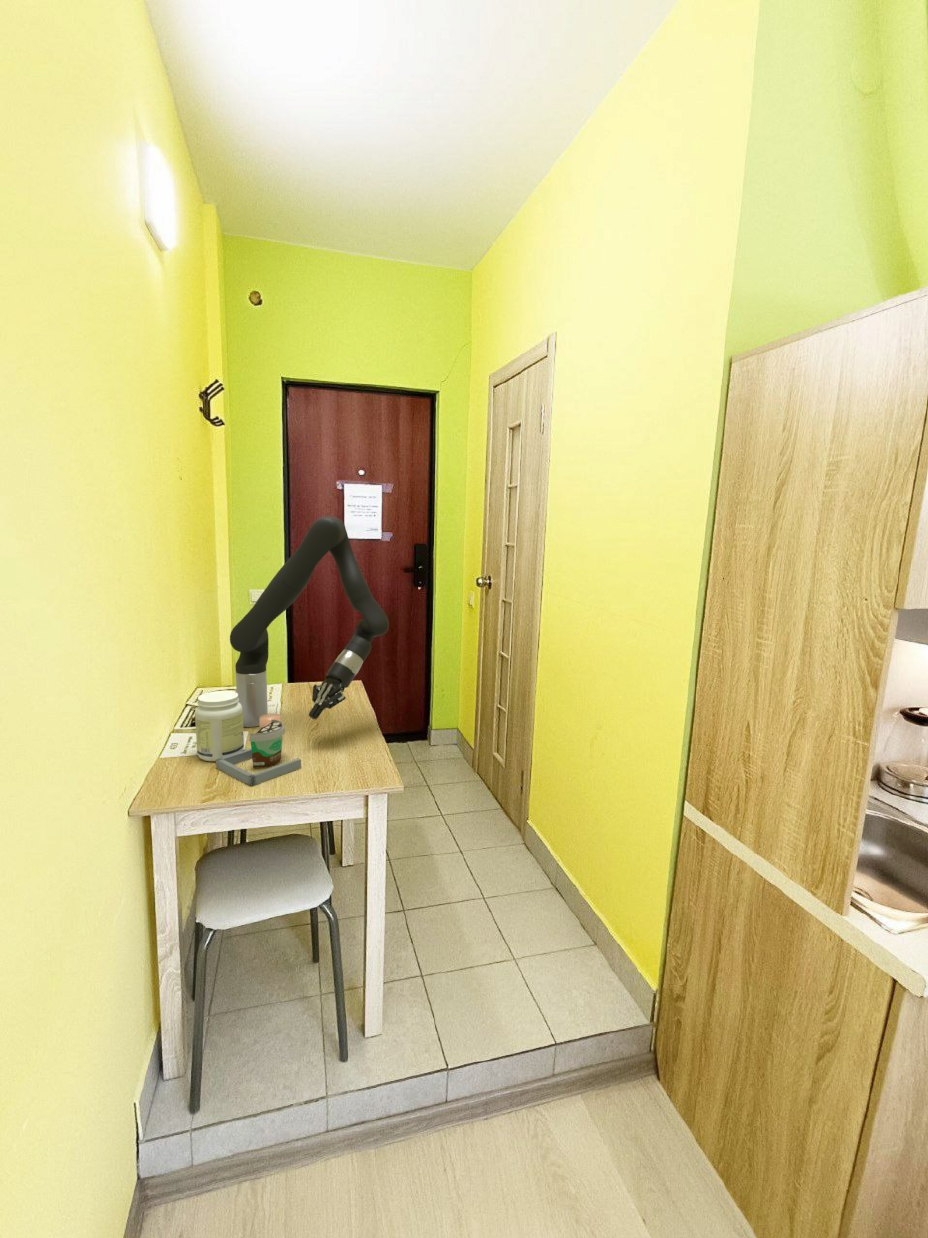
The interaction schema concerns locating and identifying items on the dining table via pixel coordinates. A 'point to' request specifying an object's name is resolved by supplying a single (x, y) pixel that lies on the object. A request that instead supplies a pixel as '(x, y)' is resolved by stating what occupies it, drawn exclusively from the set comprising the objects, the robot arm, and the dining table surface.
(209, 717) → the supplement tub
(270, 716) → the peach rounded cylinder
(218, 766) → the frame
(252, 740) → the food container
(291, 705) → the dining table surface
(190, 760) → the dining table surface
